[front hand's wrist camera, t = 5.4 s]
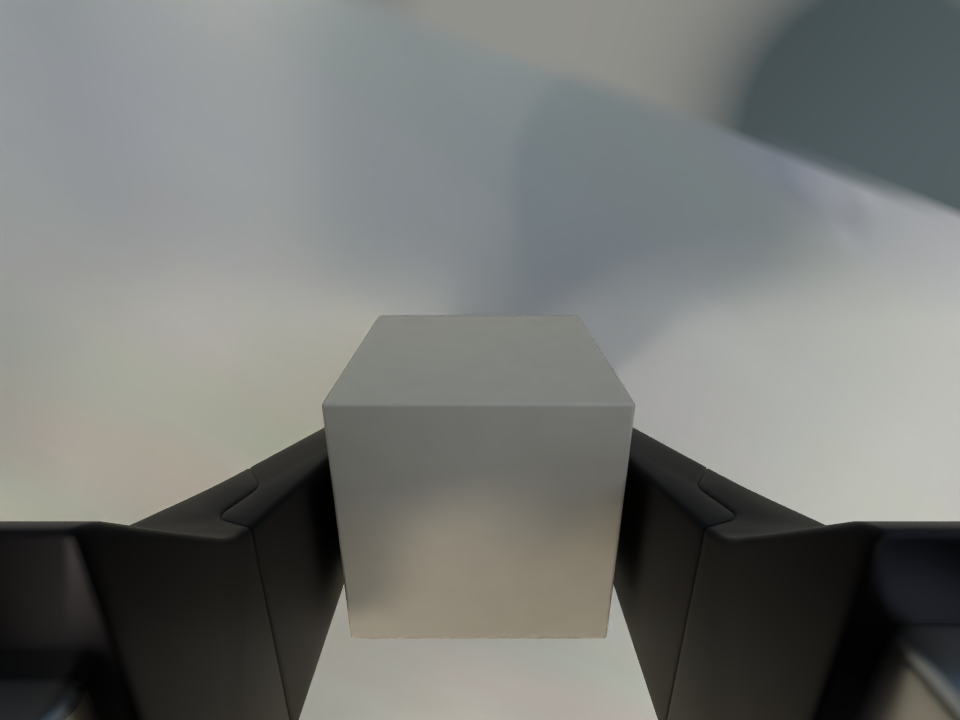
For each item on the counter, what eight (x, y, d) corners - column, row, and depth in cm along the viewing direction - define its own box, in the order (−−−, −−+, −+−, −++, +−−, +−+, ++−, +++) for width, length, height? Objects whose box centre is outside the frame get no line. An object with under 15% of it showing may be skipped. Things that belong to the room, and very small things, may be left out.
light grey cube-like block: (579, 314, 11) (637, 402, 7) (566, 486, 13) (607, 640, 9) (378, 314, 11) (320, 402, 7) (391, 487, 13) (350, 640, 9)
